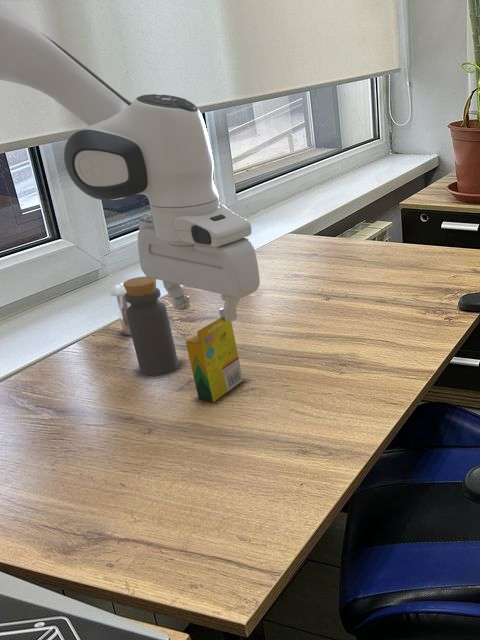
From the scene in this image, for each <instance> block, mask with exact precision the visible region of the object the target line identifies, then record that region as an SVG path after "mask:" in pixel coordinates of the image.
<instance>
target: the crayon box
mask: <svg viewBox="0 0 480 640" xmlns="http://www.w3.org/2000/svg"><path fill="white" fill-rule="evenodd" d="M233 327H234V326H233V322H226V321H222V320H221V319H220V317H219V318H218V319H216V320H214V321H213V322H211V323H209V324H207V325H205V326H204V327H202V328H201V329H199V330H198V331H196V335H194V336H193V337H190V338H189V339H188V340H186V341H185V344H186V349H187V354H188V357H189V362H190V366H191V370H192V371H191V373H192V375H193V381H194V385H195V388H196V394H197V397H198V399H199V400H200V401H204V402H209V403H215V402H217V400H218V399H220V398H221V397H223V396H224V395H225V394H227V393H228V392H230V391H231V390H233V388H235V387H236V386H238V385H239V384H240V383H243V382H244V378H243V372H242V368H241V362H240V357H239V353H238V348H237V342H236V337H235V332H234V328H233Z"/></svg>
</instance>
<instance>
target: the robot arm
mask: <svg viewBox="0 0 480 640" xmlns="http://www.w3.org/2000/svg"><path fill="white" fill-rule="evenodd" d="M0 81H5V82H9V83H13V84H19V85H22V86H26V87H29V88H31V89H34V90H37V91H39V92H41V93H42V94H44V95H47V96H48V97H50V98H51V99H52V100H54V101H55V102H57V103H58V104H59V105H60V106H62V107H63V108H65V109H66V110H67V111H69V112H70V113H71V114H72V115H74V116H75V117H76V118H77V119H79V120H80V121H81V122H83V123H84V124H85V125H86V127H83V128H81V129H79V130H78V131H76V132H74V133H72V135H71V136H70V137H69V138H68V139H67V141H66V143H65V145H64V149H63V160H64V165H65V169H66V171H67V174H68V177H69V178H70V179H71V181H72V182H73V183H74V185H75V186H76V187H77V188H78V189H79V190H80V191H81V192H83V193H84V194H86V195H87V196H88V197H91V198H93V199H96V200H100V201H115V200H117V201H118V200H121V199H125V198H129V197H132V196H136V195H144V196H145V197H146V198H147V200H148V203H149V208H150V213H144V214H143V215H142V216H141V217H140V218H139V221H138V223H137V226H138V230H139V231H138V233H137V249H138V259H139V265H140V269H141V271H142V273H143V275H145V277H146V276H147V277H149V278H153V279H156V280H158V281H162V285H163V288H164V289H165V290H166V292H167V294H168V295H169V297H170V298H171V300H172V304H173V308H174V309H175V310H179V311H185V310H188V309H190V307H191V303H190V296H189V295H186V294H185V292H184V290H183V288H182V286H185V287H189V288H193V289H198V290H202V291H207V292H211V293H215V294H220V296H221V300H222V301H224V305H223V307H221V308H220V309H219V310H218V312H219V318H220V319H221V320H222V321H226V322H231V323H233V322H234V321H236V320H237V318H238V314H237V313H238V312H237V307H238V304H239V302H240V300H241V299H242V298H245V297H248V296H250V295H252V294H254V293H256V292H257V290H259V289H258V288H259V287H260V285H261V284H260V283H261V279H260V271H259V264H258V259H257V254H256V250H255V247H254V245H253V243H252V242H251V240H249V239H248V238H247V237H249V236H251V235H252V224H251V223H250V221H249V220H247V219H246V218H245V217H243V216H241V215H239V214H237V213H236V212H234V211H232V209H229V208H228V207H226V205H224V204H222V203H221V202H220V197H219V193H218V190H217V188H216V185H215V183H214V178H213V177H214V176H213V173H214V159H213V154H212V148H211V144H210V138H209V135H208V131H207V128H206V123H205V120H204V117H203V115H202V113H201V111H200V110H199V108H198V106H197V105H196V104H195V103H193V102H191V101H190V100H188V99H186V98H183V97H179V96H176V95H169V94H155V93H153V94H150V93H149V94H143V95H139V96H137V97H136V98H134V100H133V101H132V102H131V101H130V100H128V99H126V98H125V97H124V96H123V95H122V94H120V93H119V92H118V91H117V90H115V89H114V88H113V87H112V86H110V85H109V83H107V82H105V81H104V80H103V79H102V78H100V77H99V76H98V75H97V74H96V73H94V72H93V71H92V70H91V69H90V68H88V67H87V66H86V65H84V64H83V63H82V62H81V61H80V60H79V59H77V58H76V57H75V56H73V55H72V54H71V53H70V52H69V51H67V50H66V49H65V48H63V47H62V46H60V45H59V44H58V43H57V42H55V41H54V40H52V39H51V38H49V37H48V36H47V35H46V34H44V33H43V32H42V31H40V30H39V29H38V28H37V27H35V26H33V24H31V23H30V22H29V21H27V20H26V19H24V18H23V17H22V16H21V15H19V13H17V12H15V11H14V10H13V9H12V8H11V7H10V6H8V4H6V3H5V2H4V1H3V0H0Z"/></svg>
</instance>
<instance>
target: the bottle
mask: <svg viewBox="0 0 480 640" xmlns="http://www.w3.org/2000/svg"><path fill="white" fill-rule="evenodd" d="M122 283H123V285H124V287H125V289H126V291H127V293H126V294H125V300H126V302H128V303H131V306H129V307H128V308H127V310H126V314H127V319H128V323H129V327H130V331H131V335H130V336H131V339H132V342H133V347H134V351H135V355H136V359H137V362H138V368H139V370H140V373H141V374H142V375H145V376H152V377H153V376H161V375H162V376H163V375H165V374H169V373H171V372H173V371H175V370H176V369H177V368H178V366H179V359H178V355H177V350H176V345H175V341H174V336H173V332H172V326H171V323H170V318H169V314H168V310H167V305H166V303H164V302H162V301H160V300H159V298H160V297H161V295H162V294H161V290H160V288H158V287H157V279H153V278H149V277H147V276H146V275H145V276H138V277H133V278H129V279H127V280H125V281H124V282H122Z"/></svg>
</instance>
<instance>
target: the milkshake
mask: <svg viewBox="0 0 480 640" xmlns="http://www.w3.org/2000/svg"><path fill="white" fill-rule="evenodd" d="M123 283H124V282H120V283H117V284H115V285H113V286H112V287H111V288H110V289H109V294H110V296H111V298H112V302H113V304H114V307H115V310H116V313H117V315H118V319H119V321H120V325H121V327H122V329H123V330H122V331H123V334H125V335H127V336H132V335H131V331H130V327H129V323H128V319H127V314H126V310H127V308H128V307H129V306H131V303H128V302H126V300H125V294H126V293H127V291H126V289H125V287H124V285H123Z"/></svg>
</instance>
